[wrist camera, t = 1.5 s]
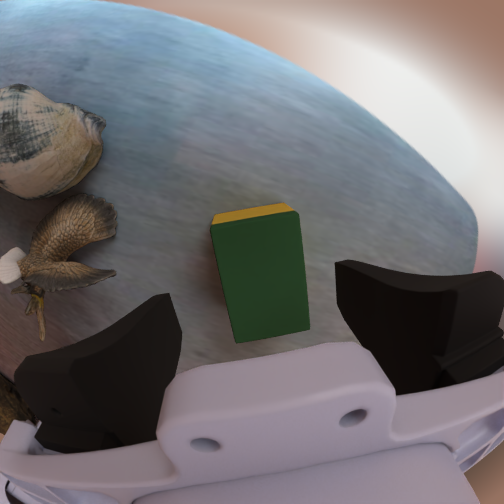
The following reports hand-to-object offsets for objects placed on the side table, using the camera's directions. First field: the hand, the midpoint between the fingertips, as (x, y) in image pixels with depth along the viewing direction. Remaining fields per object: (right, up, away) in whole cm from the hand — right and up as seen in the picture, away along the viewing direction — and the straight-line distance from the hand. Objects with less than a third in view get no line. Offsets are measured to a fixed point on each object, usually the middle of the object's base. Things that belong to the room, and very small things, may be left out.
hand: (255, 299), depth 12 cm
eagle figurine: (-13, +2, +6) cm, 15 cm away
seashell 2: (-15, +10, +3) cm, 19 cm away
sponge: (0, +2, +7) cm, 7 cm away
